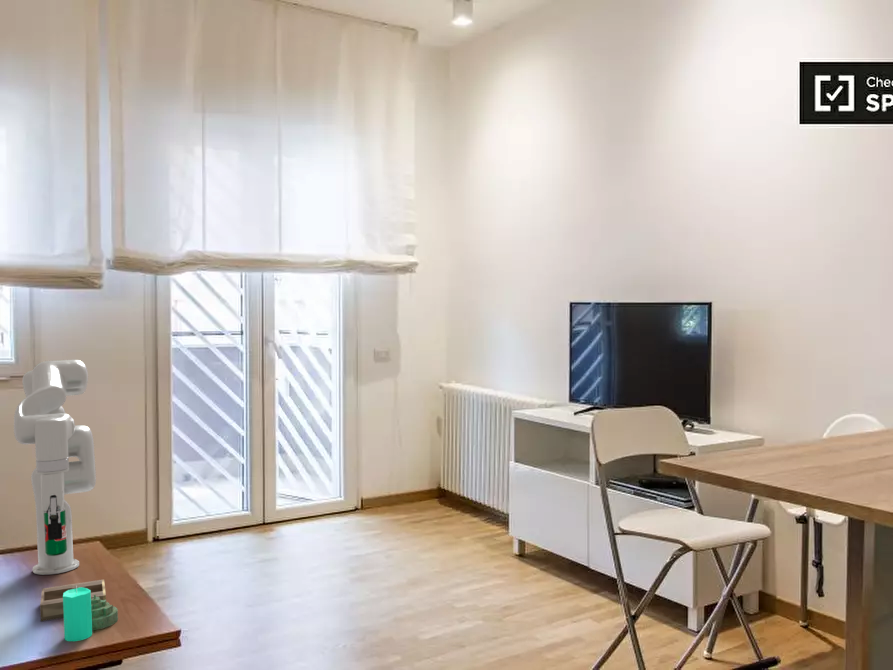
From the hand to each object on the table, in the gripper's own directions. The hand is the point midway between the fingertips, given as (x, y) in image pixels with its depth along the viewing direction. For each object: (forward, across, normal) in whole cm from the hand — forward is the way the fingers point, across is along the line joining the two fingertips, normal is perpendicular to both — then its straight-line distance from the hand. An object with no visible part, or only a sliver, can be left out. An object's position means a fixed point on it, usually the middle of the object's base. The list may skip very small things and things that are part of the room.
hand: (55, 535), depth 208 cm
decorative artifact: (+20, +15, +8) cm, 26 cm away
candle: (+19, +22, +5) cm, 30 cm away
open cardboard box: (+19, 0, +4) cm, 19 cm away
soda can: (+5, 0, 0) cm, 5 cm away
